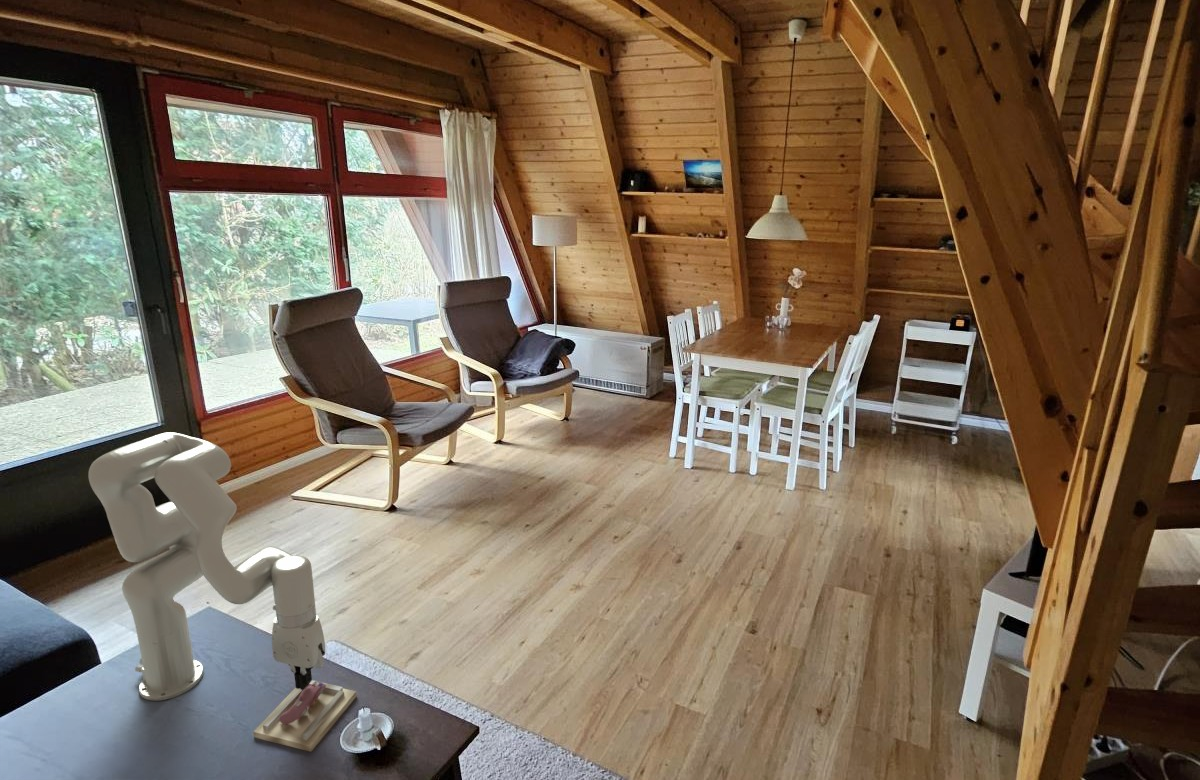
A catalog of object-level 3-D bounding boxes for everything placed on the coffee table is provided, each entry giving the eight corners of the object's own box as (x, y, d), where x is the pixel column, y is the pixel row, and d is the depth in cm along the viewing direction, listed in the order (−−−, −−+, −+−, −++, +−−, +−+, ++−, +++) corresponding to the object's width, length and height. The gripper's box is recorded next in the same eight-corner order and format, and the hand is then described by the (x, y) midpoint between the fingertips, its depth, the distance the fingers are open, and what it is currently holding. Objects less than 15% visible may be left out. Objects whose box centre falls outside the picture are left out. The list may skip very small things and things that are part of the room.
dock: (253, 737, 133) (252, 727, 133) (304, 684, 148) (303, 675, 148) (311, 751, 130) (310, 741, 130) (356, 696, 145) (355, 687, 145)
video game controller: (293, 734, 135) (303, 713, 132) (276, 722, 135) (286, 701, 132) (322, 700, 144) (332, 680, 141) (306, 689, 144) (315, 669, 142)
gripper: (252, 617, 130) (262, 690, 135) (315, 630, 127) (322, 704, 132) (278, 597, 137) (286, 666, 142) (338, 608, 134) (344, 679, 139)
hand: (304, 684), depth 137 cm, fingers closed
